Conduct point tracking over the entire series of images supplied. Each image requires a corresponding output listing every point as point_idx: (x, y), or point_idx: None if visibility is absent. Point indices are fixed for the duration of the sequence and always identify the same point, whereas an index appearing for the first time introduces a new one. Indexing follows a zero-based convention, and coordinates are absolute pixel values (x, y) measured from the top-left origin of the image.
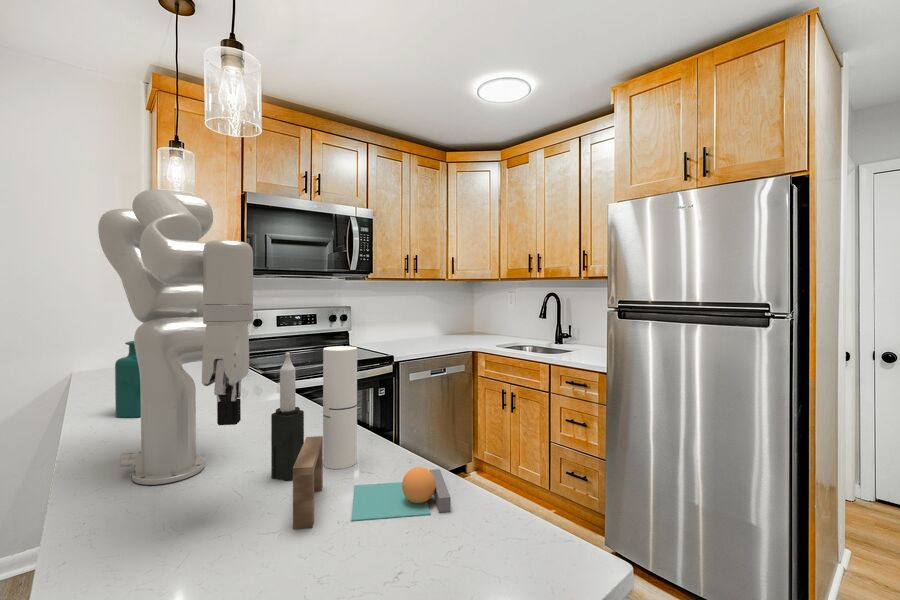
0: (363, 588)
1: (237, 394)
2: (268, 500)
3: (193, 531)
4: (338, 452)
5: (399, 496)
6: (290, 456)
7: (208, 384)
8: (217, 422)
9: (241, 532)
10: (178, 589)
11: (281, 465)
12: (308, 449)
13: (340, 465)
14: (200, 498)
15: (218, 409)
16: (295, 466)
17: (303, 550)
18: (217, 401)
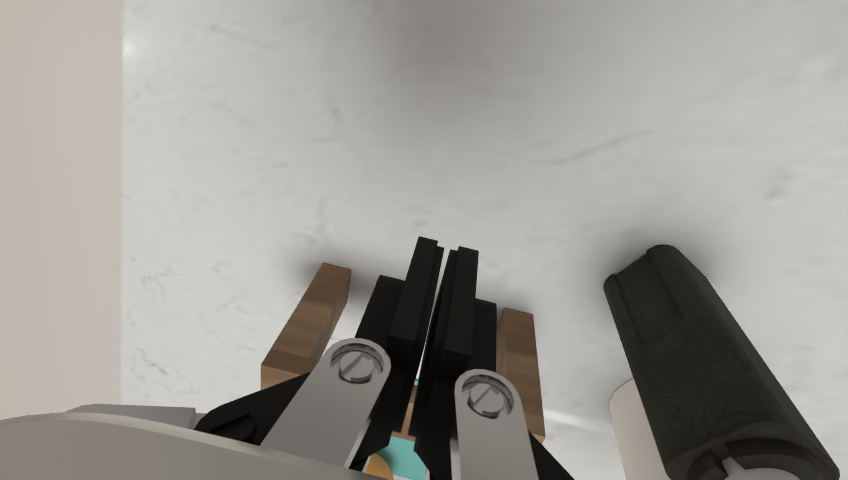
0: (129, 325)
1: (425, 476)
2: (496, 227)
3: (380, 39)
4: (624, 434)
5: (395, 442)
6: (621, 338)
7: (216, 437)
8: (418, 240)
9: (339, 162)
10: (132, 45)
11: (638, 295)
12: (409, 419)
13: (612, 405)
14: (619, 27)
15: (402, 297)
16: (273, 371)
17: (240, 269)
18: (338, 343)
